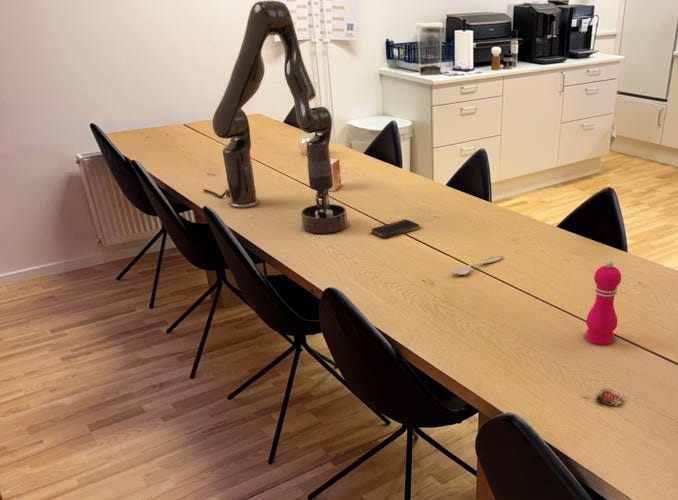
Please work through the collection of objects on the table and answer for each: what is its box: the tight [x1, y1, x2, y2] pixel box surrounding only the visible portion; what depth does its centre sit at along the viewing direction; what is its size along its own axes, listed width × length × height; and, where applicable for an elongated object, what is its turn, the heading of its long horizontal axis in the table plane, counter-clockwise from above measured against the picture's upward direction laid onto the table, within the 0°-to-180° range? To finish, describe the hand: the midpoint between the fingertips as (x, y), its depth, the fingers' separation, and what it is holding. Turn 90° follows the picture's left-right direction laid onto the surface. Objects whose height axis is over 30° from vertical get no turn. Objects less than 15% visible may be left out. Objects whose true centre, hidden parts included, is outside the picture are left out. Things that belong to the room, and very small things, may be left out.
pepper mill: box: [585, 259, 622, 345], centre depth 157 cm, size 7×7×20 cm
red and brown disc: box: [596, 389, 622, 407], centre depth 140 cm, size 5×5×1 cm
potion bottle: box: [298, 132, 315, 156], centre depth 306 cm, size 9×10×15 cm
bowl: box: [300, 203, 348, 235], centre depth 227 cm, size 15×15×6 cm
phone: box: [371, 219, 420, 239], centre depth 225 cm, size 8×1×15 cm
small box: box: [328, 158, 342, 192], centre depth 263 cm, size 8×6×10 cm
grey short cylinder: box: [315, 209, 333, 218], centre depth 227 cm, size 6×6×5 cm
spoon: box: [451, 256, 502, 276], centre depth 199 cm, size 4×21×2 cm, turn 136°
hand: (325, 222), depth 228 cm, fingers closed on grey short cylinder, 5 cm apart
